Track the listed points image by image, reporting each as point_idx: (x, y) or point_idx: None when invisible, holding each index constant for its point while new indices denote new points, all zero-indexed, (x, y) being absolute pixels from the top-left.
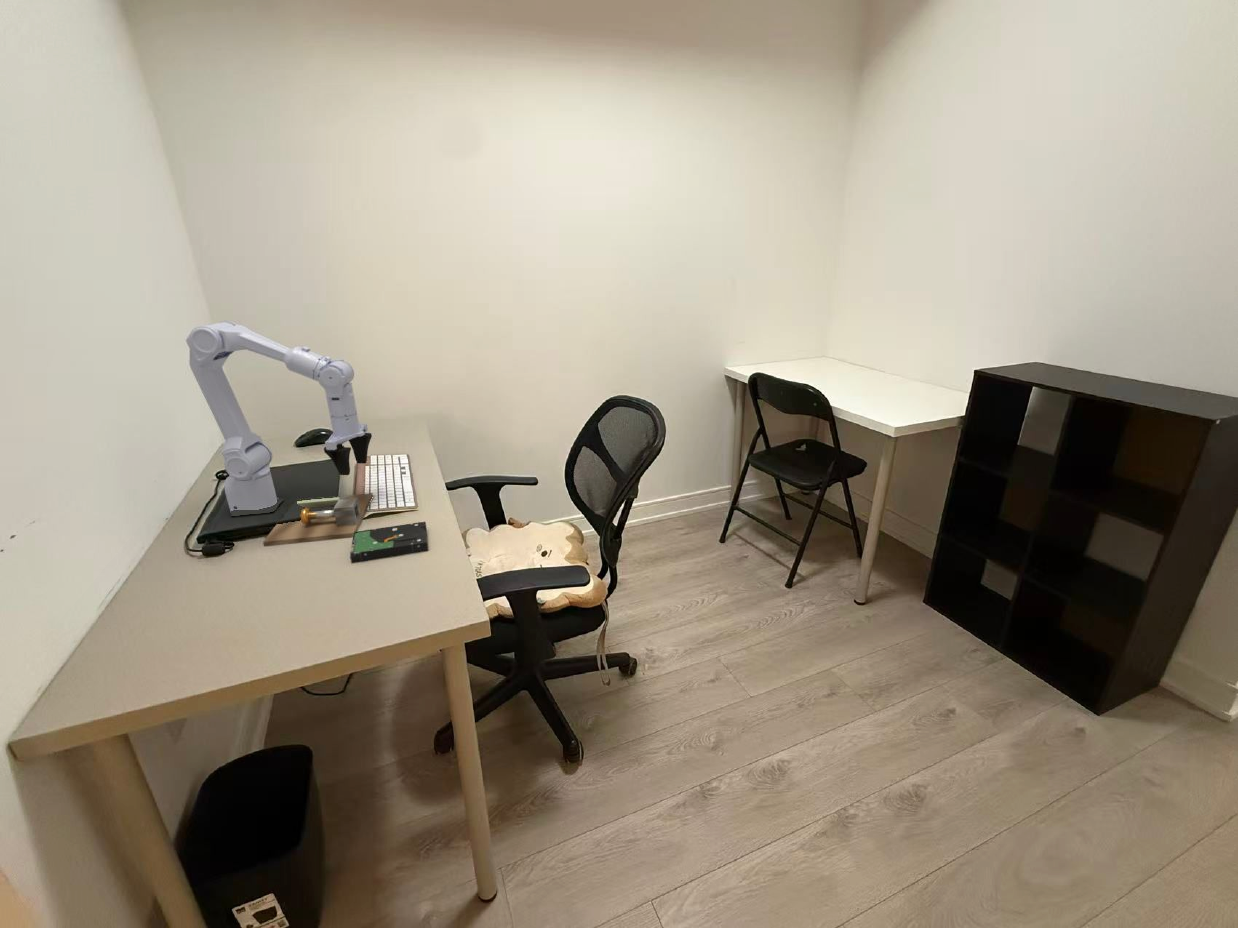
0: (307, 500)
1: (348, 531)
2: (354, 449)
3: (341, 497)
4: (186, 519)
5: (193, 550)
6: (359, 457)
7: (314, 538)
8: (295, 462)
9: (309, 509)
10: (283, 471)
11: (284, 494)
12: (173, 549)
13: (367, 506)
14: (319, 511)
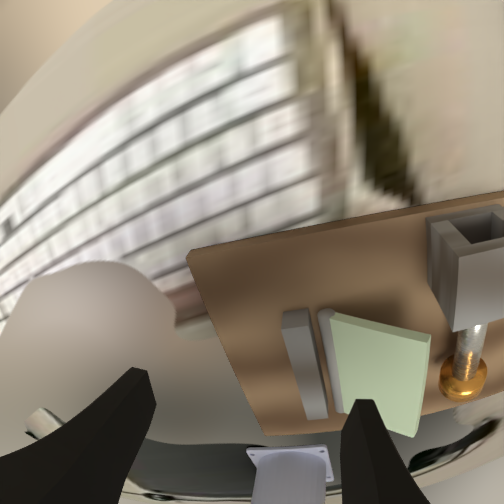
0: (417, 418)
1: None
2: (120, 479)
3: (294, 347)
4: (328, 501)
5: (458, 455)
6: (136, 423)
7: None
8: None
9: (454, 386)
10: None
11: (213, 450)
12: (441, 471)
13: (311, 229)
14: (476, 353)
